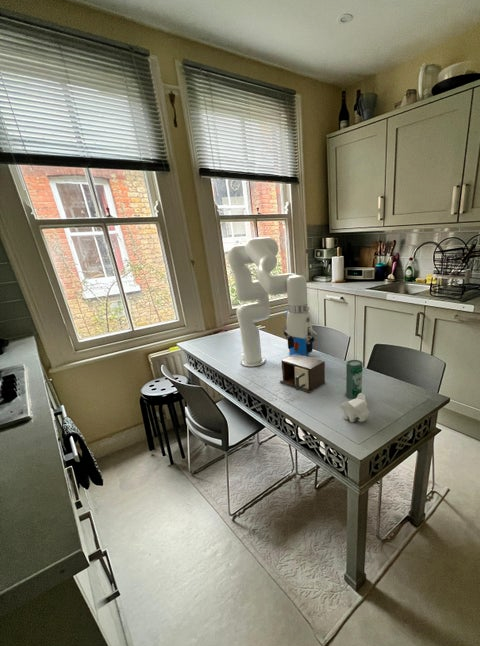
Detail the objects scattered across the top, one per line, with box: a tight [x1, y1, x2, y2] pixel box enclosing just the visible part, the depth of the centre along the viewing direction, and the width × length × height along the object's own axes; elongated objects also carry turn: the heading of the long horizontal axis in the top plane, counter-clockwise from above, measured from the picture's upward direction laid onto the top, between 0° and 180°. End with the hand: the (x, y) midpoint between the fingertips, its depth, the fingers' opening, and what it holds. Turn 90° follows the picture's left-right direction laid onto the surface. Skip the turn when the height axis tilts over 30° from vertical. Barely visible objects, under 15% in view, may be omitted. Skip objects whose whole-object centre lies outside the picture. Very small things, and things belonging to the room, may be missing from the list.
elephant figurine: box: [340, 392, 374, 423], centre depth 116 cm, size 10×12×9 cm
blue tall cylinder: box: [286, 309, 309, 356], centre depth 176 cm, size 11×11×25 cm
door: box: [294, 366, 309, 391], centre depth 137 cm, size 7×6×9 cm
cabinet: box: [279, 354, 326, 394], centre depth 144 cm, size 17×12×11 cm
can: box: [345, 359, 364, 400], centre depth 131 cm, size 6×6×15 cm
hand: (300, 349), depth 129 cm, fingers open, 9 cm apart
